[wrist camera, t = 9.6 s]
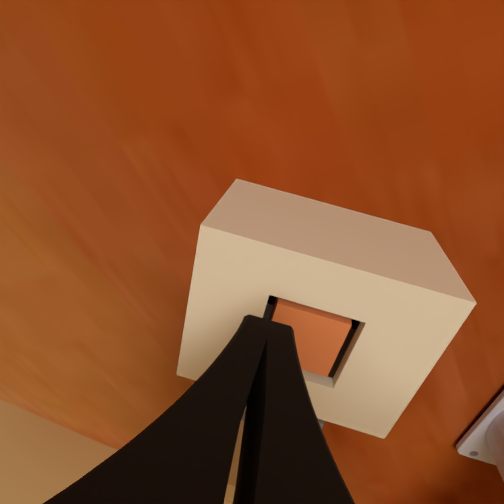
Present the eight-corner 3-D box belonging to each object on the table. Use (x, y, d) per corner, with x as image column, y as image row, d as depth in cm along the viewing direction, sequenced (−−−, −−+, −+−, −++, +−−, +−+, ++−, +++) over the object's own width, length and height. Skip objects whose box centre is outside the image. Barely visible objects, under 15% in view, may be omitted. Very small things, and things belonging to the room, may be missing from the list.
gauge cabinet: (439, 234, 17) (488, 306, 12) (376, 349, 21) (393, 441, 16) (236, 178, 18) (200, 224, 13) (211, 300, 22) (176, 374, 17)
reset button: (348, 296, 15) (351, 325, 14) (327, 344, 17) (327, 377, 15) (282, 277, 16) (277, 303, 14) (266, 327, 17) (260, 356, 15)
